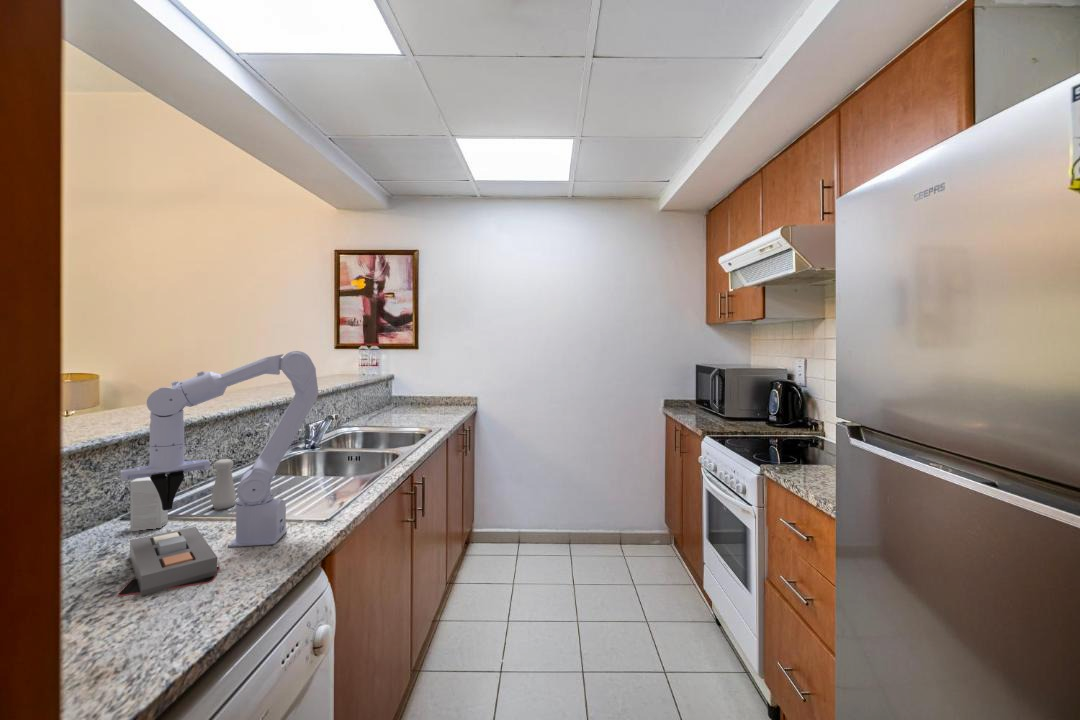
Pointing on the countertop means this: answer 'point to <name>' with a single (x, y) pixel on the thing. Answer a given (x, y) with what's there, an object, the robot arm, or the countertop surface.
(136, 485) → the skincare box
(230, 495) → the salt shaker
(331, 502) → the countertop surface
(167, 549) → the key slate
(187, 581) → the slotted grey tray
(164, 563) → the key terracotta
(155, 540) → the key cream
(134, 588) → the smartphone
